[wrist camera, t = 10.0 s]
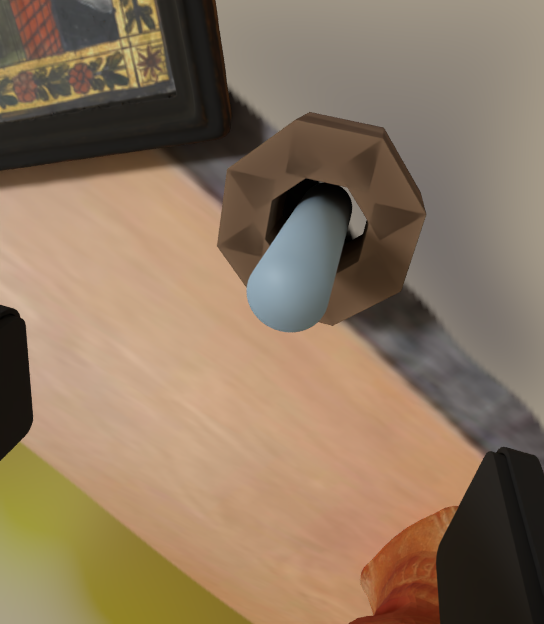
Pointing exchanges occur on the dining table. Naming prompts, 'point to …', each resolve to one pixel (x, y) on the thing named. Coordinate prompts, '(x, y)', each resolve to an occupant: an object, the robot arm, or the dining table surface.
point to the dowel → (302, 262)
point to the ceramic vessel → (407, 574)
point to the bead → (335, 170)
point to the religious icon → (108, 78)
